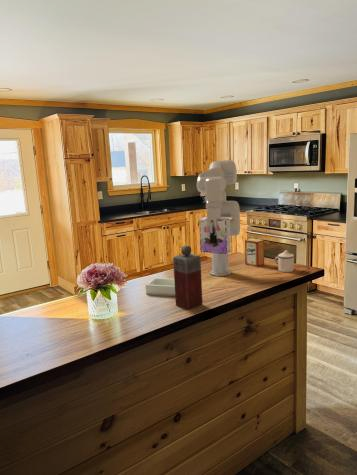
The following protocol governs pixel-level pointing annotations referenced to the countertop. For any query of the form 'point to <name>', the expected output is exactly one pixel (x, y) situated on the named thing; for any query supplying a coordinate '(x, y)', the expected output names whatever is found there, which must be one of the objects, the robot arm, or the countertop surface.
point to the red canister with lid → (187, 279)
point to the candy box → (222, 236)
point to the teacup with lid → (285, 262)
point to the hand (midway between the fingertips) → (215, 241)
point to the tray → (161, 287)
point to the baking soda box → (254, 252)
